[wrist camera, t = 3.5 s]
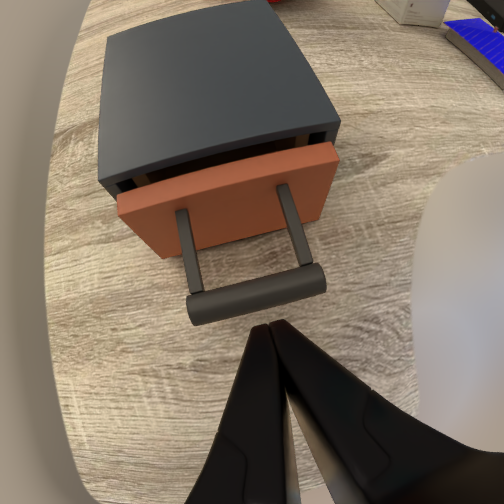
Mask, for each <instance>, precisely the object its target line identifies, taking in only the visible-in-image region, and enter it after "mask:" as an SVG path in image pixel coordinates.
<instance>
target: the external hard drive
mask: <svg viewBox="0 0 504 504" xmlns="http://www.w3.org/2000/svg"><path fill="white" fill-rule="evenodd" d="M467 1H468V2H469V3H470V4H471V5H473V6H474V7H475V8H476V9H477V10H478V11H479V12H480V13H481V14H482V15H483V16H484V17H485V18H486V19H487V20H488V21H489V22H490V23H491V24H492V25H493V26H494V27H495V26H497V27H498V31H501V32H504V0H467Z"/></svg>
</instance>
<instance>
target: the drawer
mask: <svg viewBox="0 0 504 504" xmlns="http://www.w3.org/2000/svg"><path fill="white" fill-rule="evenodd" d="M308 140H309V134H305V135H300V136H295V137H289V138H284V139H279V140H274V141H270V142H265V143H260V144H256V145H251V146H247V147H242V148H238V149H234V150H230V151H226V152H221V153H217V154H214V155H210V156H206V157H202V158H198V159H194V160H191V161H187V162H183V163H180V164H176V165H173V166H169V167H166V168H162V169H159V170H156V171H152V172H149V173H146V174H143V175H139V176H136V177H133V178H132V179H133V181H134V182H135V184H136V185H137V186H138V188H136V189H133V190H130V191H127V192H124V193H121V194H118V195H117V210H118V216H119V217H120V218H121V219H122V220H123V221H124V222H125V223H126V224H127V225H128V226H129V227H130V228H131V229H132V230H133V231H134V232H135V233H136V234H137V235H138V236H139V237H140V238H141V239H142V240H143V241H144V242H145V243H146V244H147V245H148V246H149V247H150V248H151V249H152V250H153V251H154V252H155V253H157V254H158V255H159V256H160V257H161V258H162V259H165V258H169V257H173V256H176V255H180V254H182V256H183V261H184V266H185V271H186V276H187V281H188V286H189V291H190V294H191V295H188V296H187V297H186V306H187V311H188V315H189V318H190V320H191V322H192V324H193V325H194V326H199V325H203V324H208V323H212V322H216V321H220V320H224V319H229V318H233V317H237V316H241V315H245V314H249V313H253V312H257V311H260V310H264V309H268V308H272V307H276V306H279V305H283V304H287V303H291V302H294V301H298V300H302V299H305V298H309V297H312V296H316V295H319V294H323V293H325V292H326V289H327V285H326V279H325V275H324V272H323V269H322V267H321V266H320V264H319V263H313V258H312V255H311V252H310V249H309V245H308V242H307V239H306V236H305V233H304V230H303V227H302V223H307V222H311V221H315V220H318V219H319V217H320V215H321V212H322V209H323V206H324V204H325V201H326V198H327V195H328V193H329V190H330V187H331V184H332V181H333V178H334V176H335V173H336V170H337V167H338V164H339V161H340V160H339V157H338V155H337V153H336V151H335V149H334V147H333V144H332V142H325V143H319V144H314V145H308ZM286 227H287V228H288V231H289V234H290V237H291V241H292V244H293V247H294V250H295V254H296V257H297V260H298V264H299V267H298V268H294V269H291V270H287V271H283V272H279V273H275V274H272V275H268V276H264V277H260V278H256V279H252V280H248V281H244V282H240V283H236V284H232V285H228V286H224V287H220V288H216V289H212V290H208V291H205V289H204V285H203V280H202V275H201V271H200V266H199V261H198V256H197V252H196V250H199V249H203V248H207V247H211V246H215V245H219V244H223V243H227V242H231V241H235V240H238V239H242V238H246V237H250V236H254V235H258V234H262V233H266V232H270V231H274V230H278V229H282V228H286Z"/></svg>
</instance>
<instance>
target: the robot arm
mask: <svg viewBox="0 0 504 504" xmlns="http://www.w3.org/2000/svg"><path fill="white" fill-rule="evenodd" d="M287 397H288V399H287ZM288 400H289V403H290V405H291V408H292V410H293V412H294V415H295V417H296V419H297V421H298V424H299V426H300V428H301V430H302V433H303V435H304V437H305V439H306V442H307V444H308V446H309V448H310V450H311V453H312V455H313V457H314V459H315V462H316V464H317V466H318V468H319V470H320V473H321V475H322V477H323V479H324V481H325V483H326V486H327V488H328V490H329V492H330V494H331V496H332V498H333V500H334V503H335V504H504V453H502V452H486V451H481V450H477V449H474V448H471V447H468V446H466V445H464V444H462V443H460V442H458V441H456V440H454V439H452V438H450V437H448V436H446V435H445V434H443V433H441V432H439V431H437V430H435V429H433V428H432V427H430V426H428V425H426V424H424V423H422V422H420V421H419V420H417V419H415V418H414V417H412V416H410V415H409V414H407V413H405V412H404V411H402V410H400V409H399V408H398V407H396V406H395V405H393V404H392V403H390V402H389V401H388V400H386V399H385V398H384V397H382V396H381V395H380V394H378V393H377V392H376V391H375V390H371V388H370V387H369V386H368V385H366V384H365V383H364V382H363V381H361V380H360V379H359V378H357V377H356V376H355V375H354V374H352V373H351V372H350V371H349V370H347V369H346V368H345V367H343V366H342V365H341V364H340V363H338V362H337V361H336V360H335V359H333V358H332V357H331V356H330V355H328V354H327V353H326V352H324V351H323V350H322V349H321V348H319V347H318V346H317V345H316V344H314V343H313V342H312V341H311V340H309V339H308V338H307V337H306V336H304V335H303V334H302V333H301V332H300V331H298V330H297V329H296V328H295V327H293V326H292V325H291V324H290V323H288V322H287V321H286V320H284V319H280V320H277V321H273V322H270V323H269V326H268V324H261V325H257V326H254V327H252V329H251V331H250V334H249V337H248V340H247V344H246V347H245V350H244V353H243V356H242V359H241V362H240V365H239V368H238V371H237V374H236V377H235V380H234V383H233V386H232V389H231V392H230V395H229V398H228V401H227V404H226V407H225V409H224V412H223V415H222V418H221V421H220V424H219V427H218V432H217V433H216V435H215V438H214V441H213V444H212V447H211V449H210V452H209V454H208V457H207V459H206V462H205V464H204V467H203V469H202V471H201V473H200V475H199V477H198V479H197V481H196V483H195V485H194V487H193V489H192V490H191V492H190V494H189V496H188V498H187V500H186V501H185V503H184V504H301V498H300V490H299V481H298V473H297V465H296V457H295V449H294V441H293V433H292V425H291V417H290V410H289V404H288Z"/></svg>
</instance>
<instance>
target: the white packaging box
mask: <svg viewBox="0 0 504 504" xmlns="http://www.w3.org/2000/svg"><path fill="white" fill-rule="evenodd" d="M375 1H376V2H377V3H378V4H379V5H380V6H381V7H382V8H383V9H385V10H386V11H387V12H388V13H389V14H390V15H391V16H392V17H393V18H394V19H395V20H396V21H397V22H398V23H399V24H412V25H422V26H430V27H435V28H439V26H440V24H441V22H442V19H443V17H444V15H445V12H446V9H447V7H448V4H449V2H450V0H375Z"/></svg>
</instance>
